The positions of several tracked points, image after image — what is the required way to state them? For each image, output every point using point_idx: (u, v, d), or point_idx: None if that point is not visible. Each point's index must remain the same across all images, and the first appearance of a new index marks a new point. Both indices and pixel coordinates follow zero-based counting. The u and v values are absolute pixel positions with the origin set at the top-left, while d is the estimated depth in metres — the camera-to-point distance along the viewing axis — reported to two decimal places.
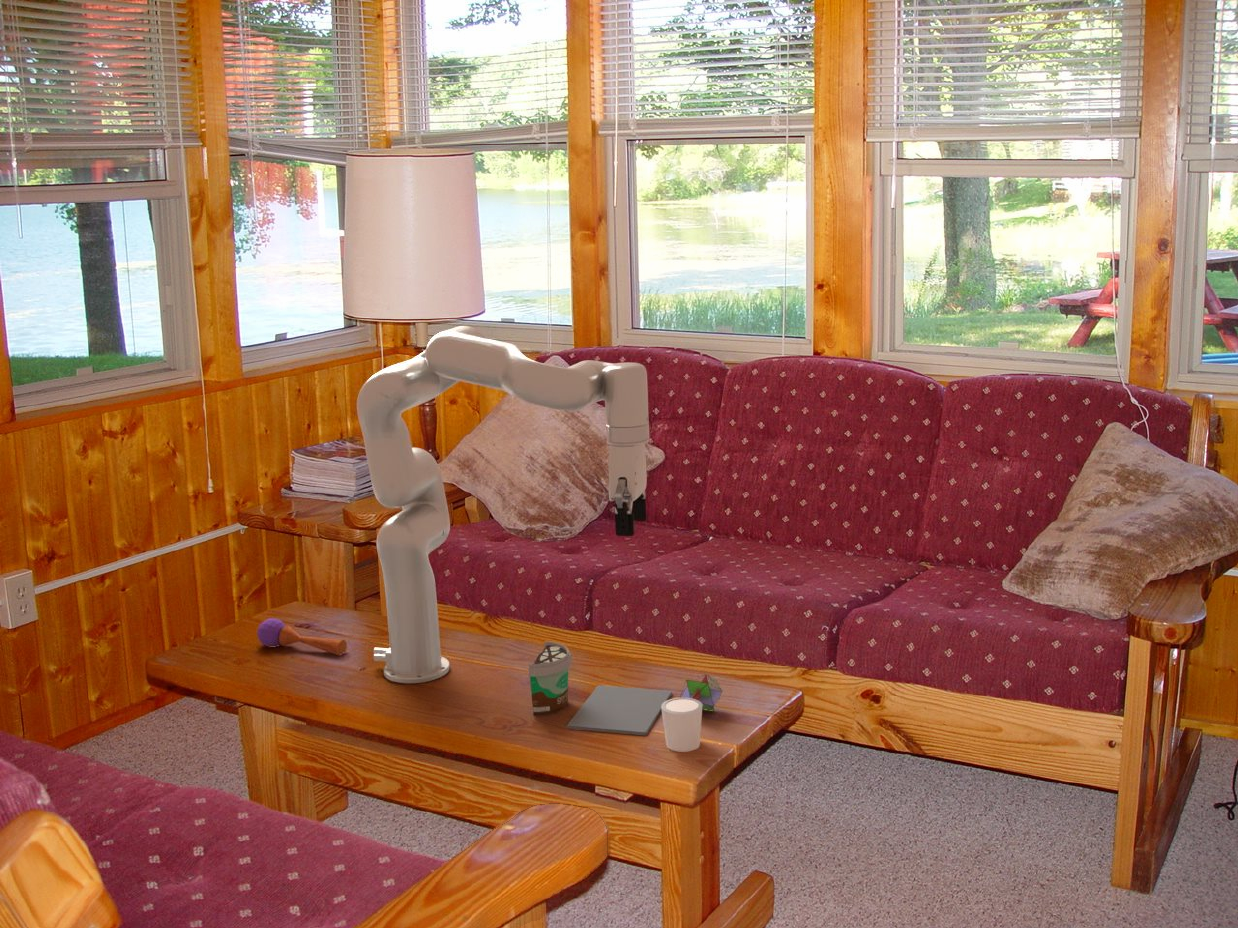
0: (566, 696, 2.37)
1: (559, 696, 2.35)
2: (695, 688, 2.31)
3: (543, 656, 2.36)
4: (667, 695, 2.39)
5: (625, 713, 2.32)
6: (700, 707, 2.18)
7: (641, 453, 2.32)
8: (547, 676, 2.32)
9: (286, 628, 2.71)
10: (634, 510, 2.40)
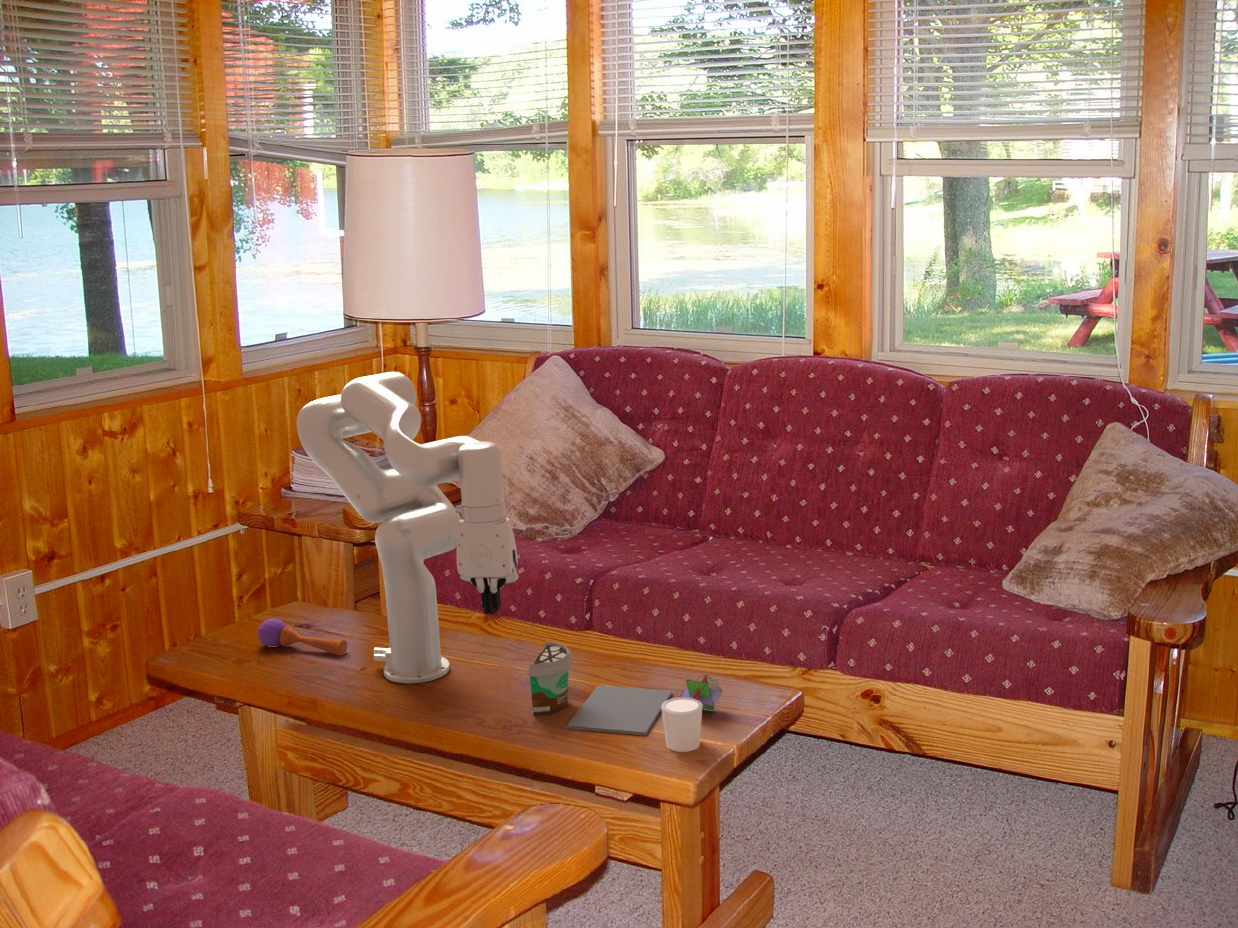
0: (566, 696, 2.37)
1: (559, 696, 2.35)
2: (695, 688, 2.31)
3: (543, 656, 2.36)
4: (667, 695, 2.39)
5: (625, 713, 2.32)
6: (700, 707, 2.18)
7: None
8: (547, 676, 2.32)
9: (287, 628, 2.71)
10: None
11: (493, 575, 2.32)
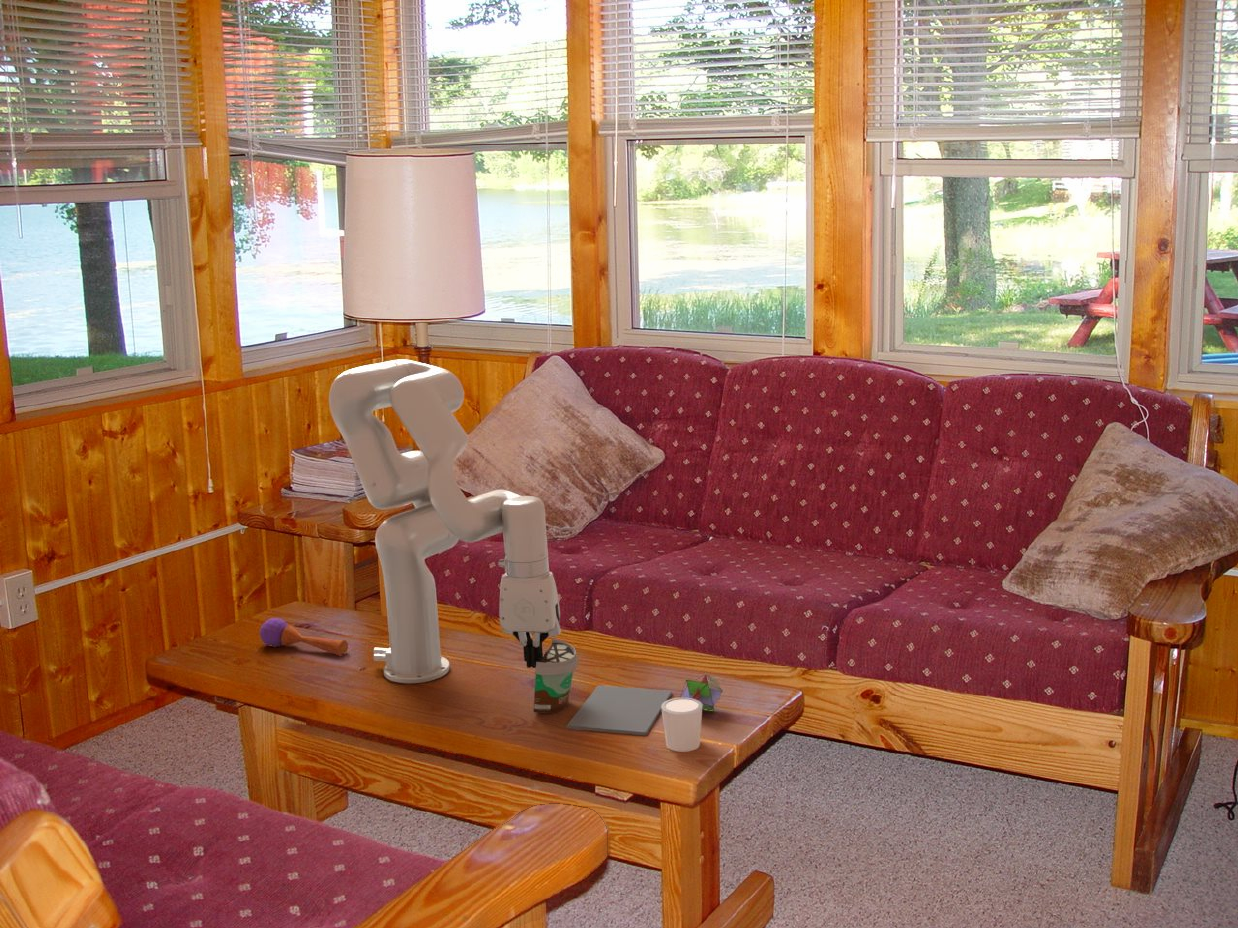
0: (567, 696, 2.37)
1: (561, 696, 2.34)
2: (695, 688, 2.31)
3: (550, 654, 2.35)
4: (667, 695, 2.39)
5: (625, 713, 2.32)
6: (700, 707, 2.18)
7: None
8: (553, 675, 2.32)
9: (288, 628, 2.71)
10: None
11: (536, 629, 2.32)
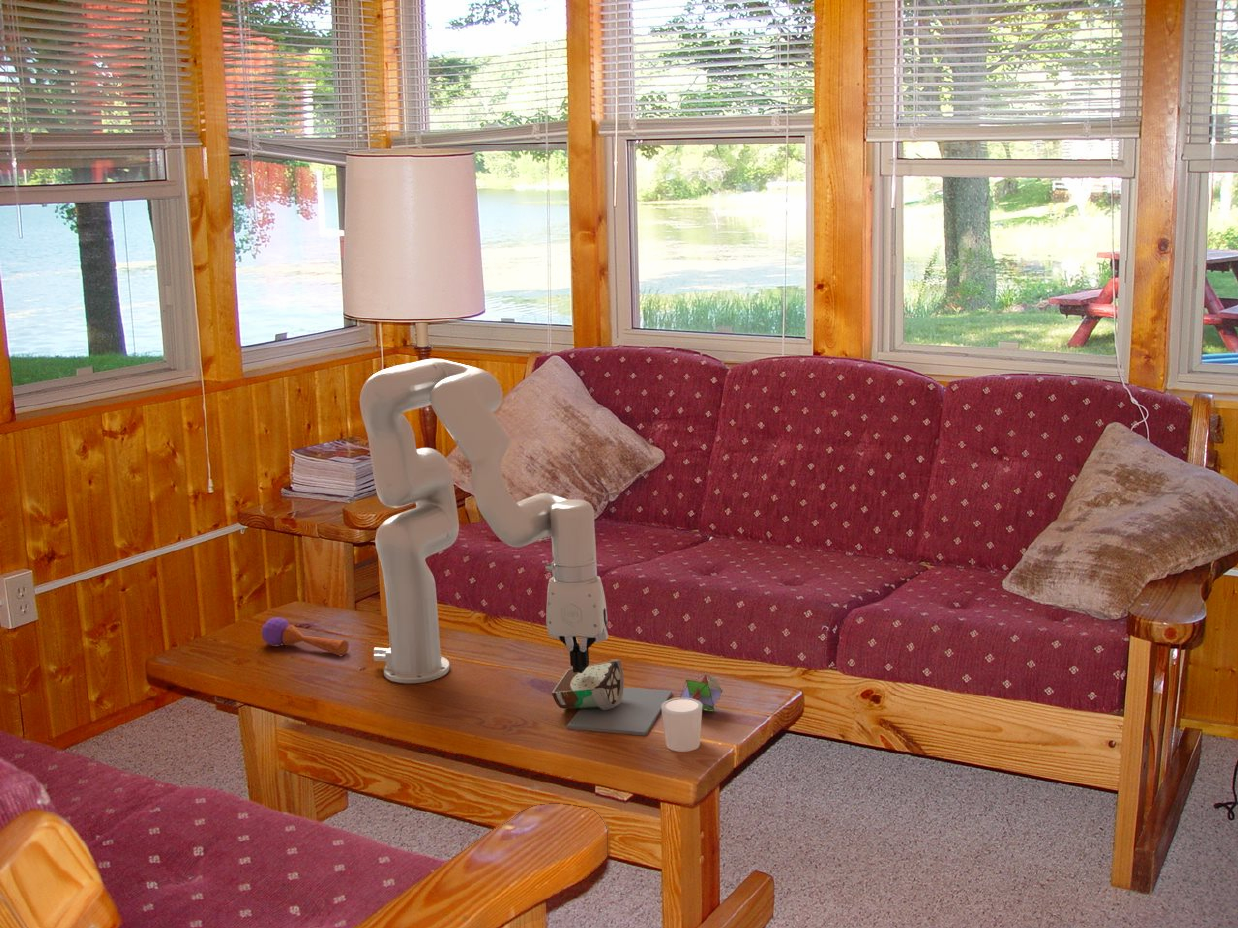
0: None
1: (577, 707, 2.34)
2: (695, 688, 2.31)
3: (609, 681, 2.33)
4: (667, 695, 2.39)
5: (625, 713, 2.32)
6: (700, 707, 2.18)
7: None
8: (595, 702, 2.30)
9: (290, 628, 2.71)
10: None
11: (584, 634, 2.30)
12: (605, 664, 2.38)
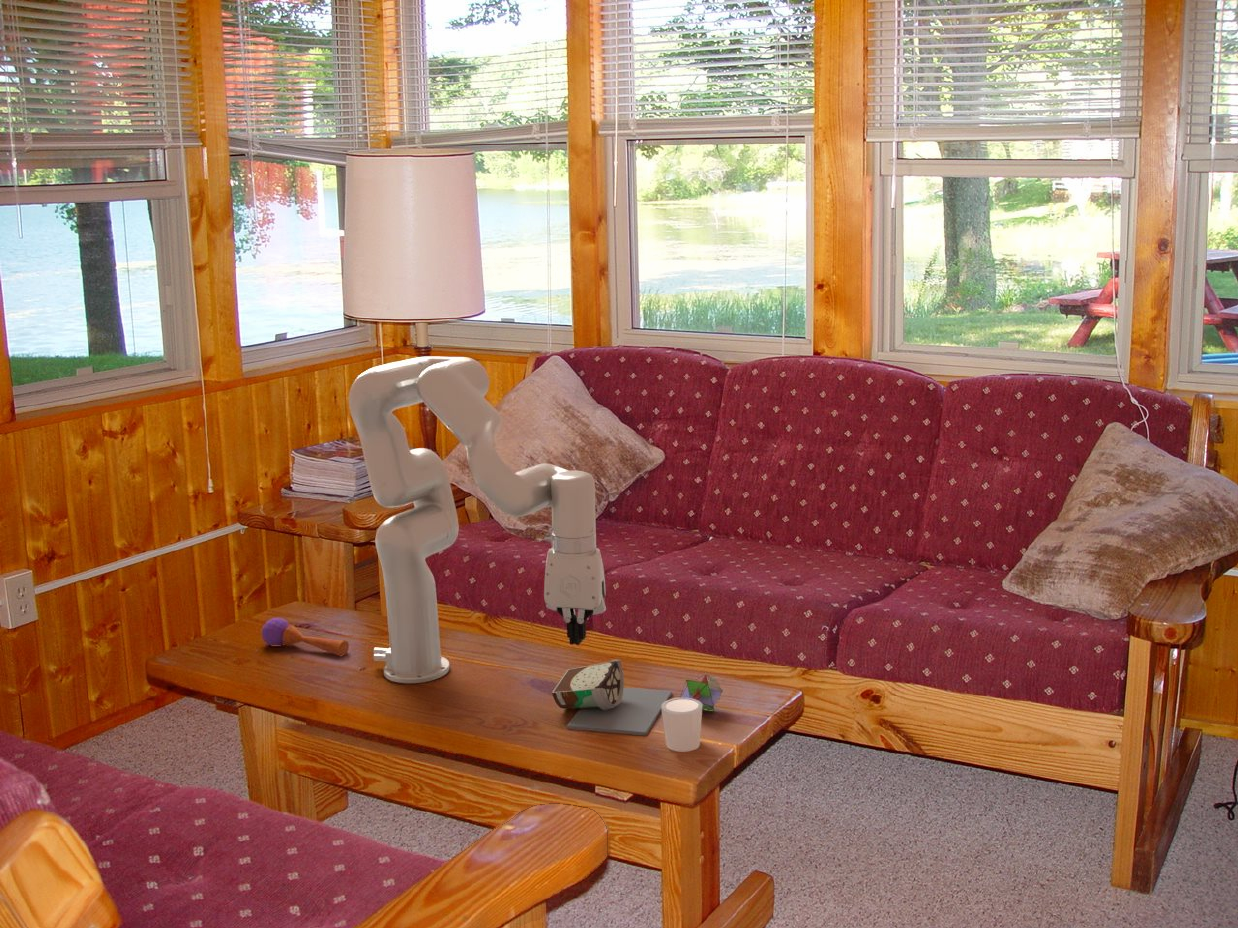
0: None
1: (577, 707, 2.34)
2: (695, 688, 2.31)
3: (609, 681, 2.33)
4: (667, 695, 2.39)
5: (625, 713, 2.32)
6: (700, 707, 2.18)
7: None
8: (595, 702, 2.30)
9: (290, 628, 2.71)
10: None
11: (581, 606, 2.29)
12: (605, 664, 2.38)
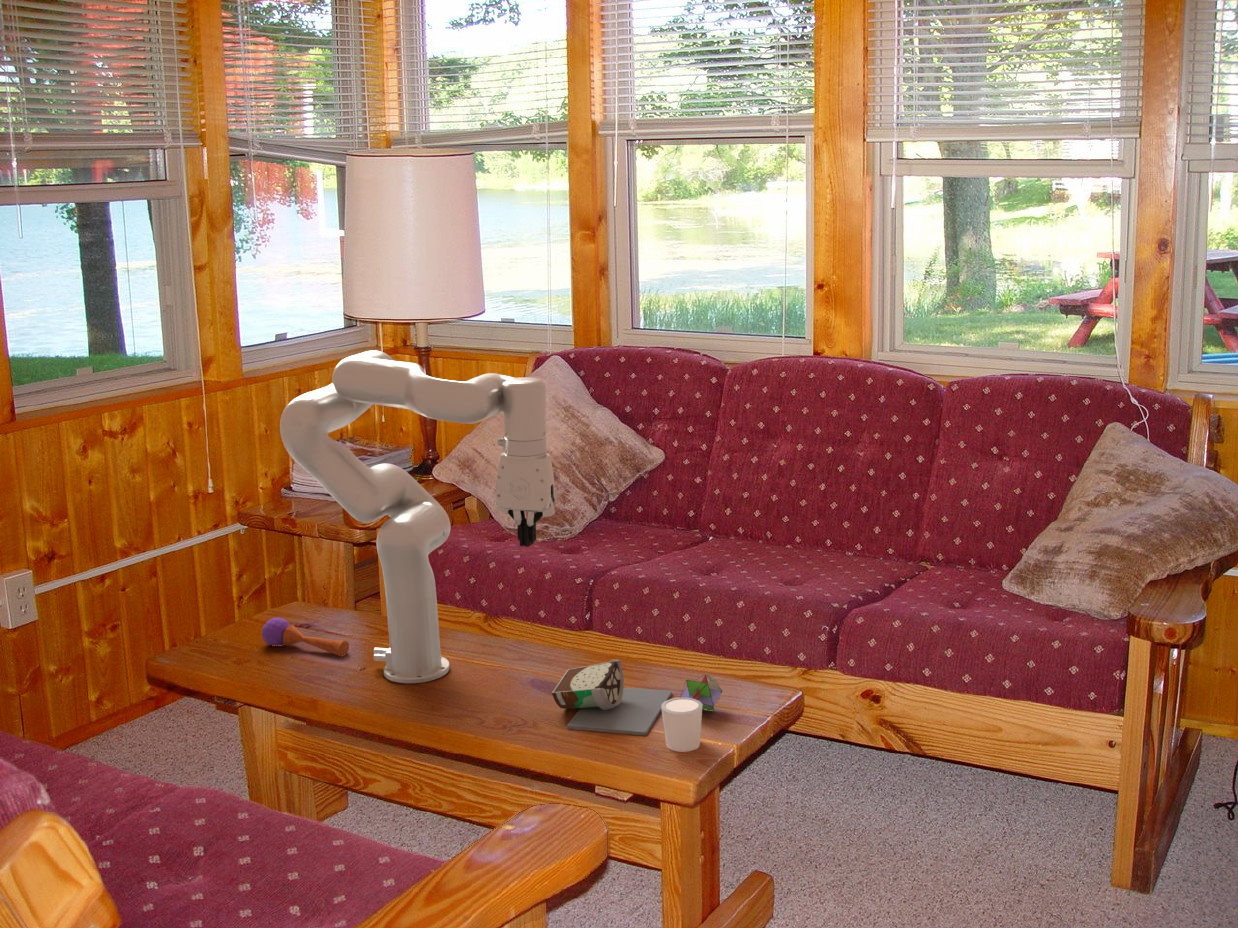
0: None
1: (577, 707, 2.34)
2: (695, 688, 2.31)
3: (609, 681, 2.33)
4: (667, 695, 2.39)
5: (625, 713, 2.32)
6: (700, 707, 2.18)
7: None
8: (595, 702, 2.30)
9: (290, 628, 2.71)
10: None
11: (531, 508, 2.38)
12: (605, 664, 2.38)
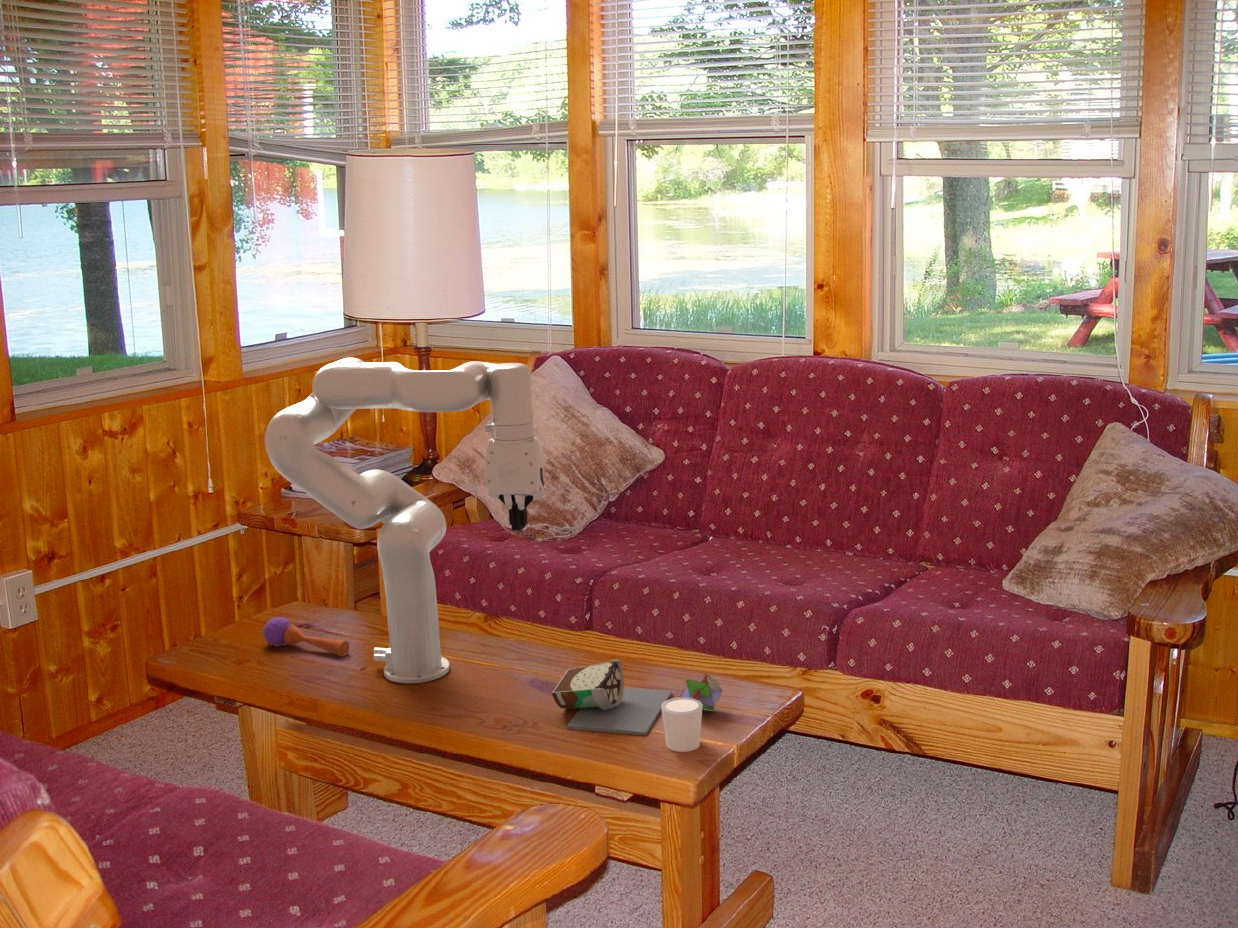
0: None
1: (577, 707, 2.34)
2: (695, 688, 2.31)
3: (609, 681, 2.33)
4: (667, 695, 2.39)
5: (625, 713, 2.32)
6: (700, 707, 2.18)
7: None
8: (595, 702, 2.30)
9: (291, 628, 2.71)
10: None
11: (521, 492, 2.40)
12: (605, 664, 2.38)
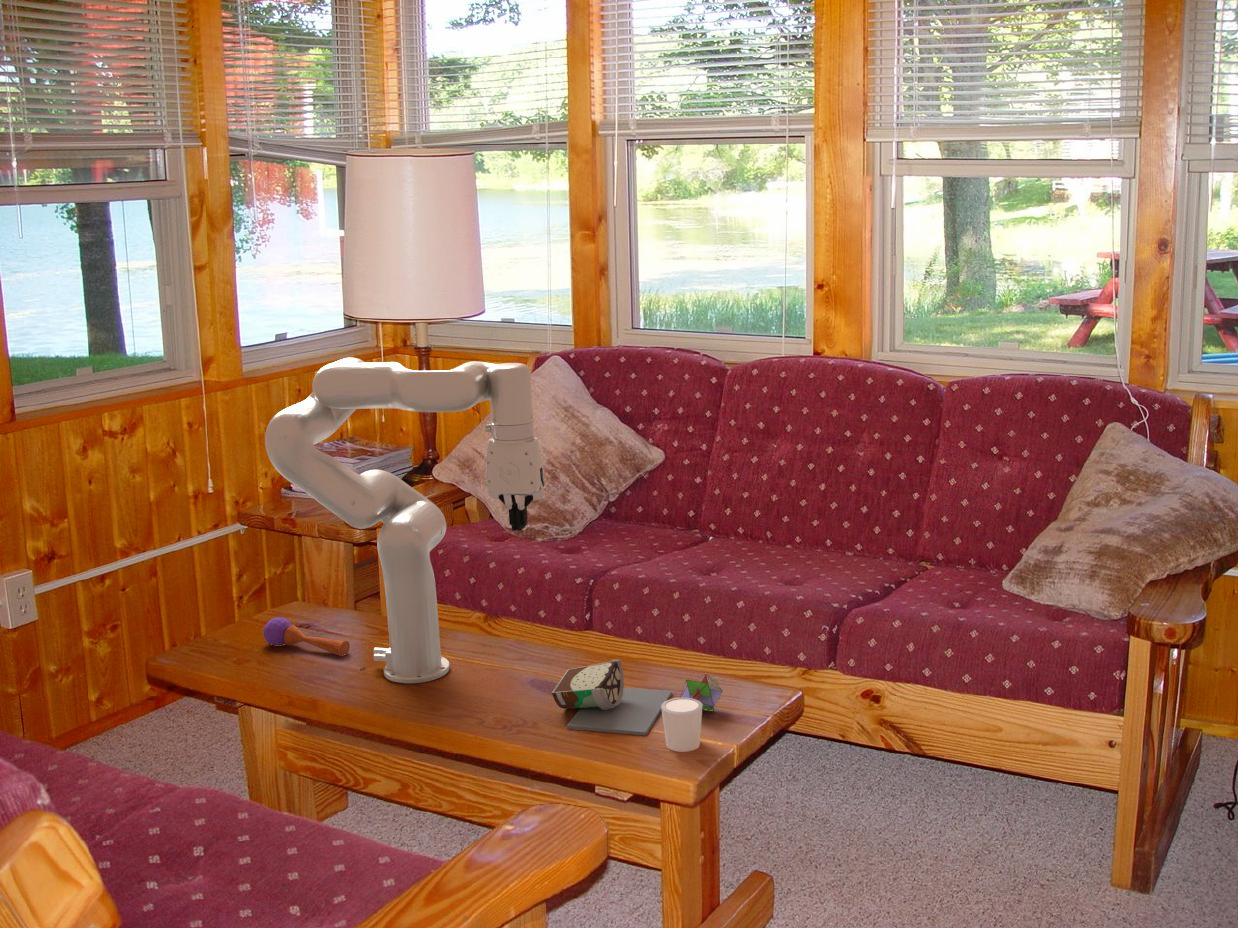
0: None
1: (577, 707, 2.34)
2: (695, 688, 2.31)
3: (609, 681, 2.33)
4: (667, 695, 2.39)
5: (625, 713, 2.32)
6: (700, 707, 2.18)
7: None
8: (595, 702, 2.30)
9: (291, 628, 2.71)
10: None
11: (521, 492, 2.40)
12: (605, 664, 2.38)
